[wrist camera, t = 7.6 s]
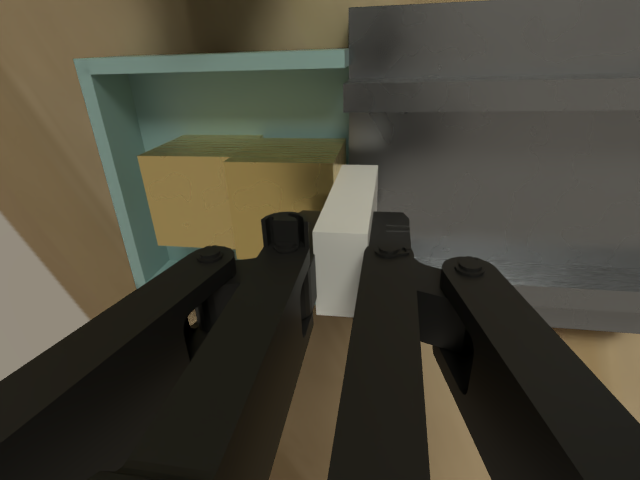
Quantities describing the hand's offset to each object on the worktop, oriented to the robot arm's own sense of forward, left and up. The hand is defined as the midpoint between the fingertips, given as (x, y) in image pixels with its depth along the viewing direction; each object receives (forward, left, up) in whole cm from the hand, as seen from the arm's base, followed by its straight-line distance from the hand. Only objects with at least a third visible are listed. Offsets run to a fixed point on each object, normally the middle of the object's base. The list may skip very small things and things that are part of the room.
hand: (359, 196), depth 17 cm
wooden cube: (0, -3, -2) cm, 3 cm away
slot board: (0, +6, -3) cm, 7 cm away
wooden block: (0, -7, -2) cm, 7 cm away
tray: (0, -6, -3) cm, 7 cm away
